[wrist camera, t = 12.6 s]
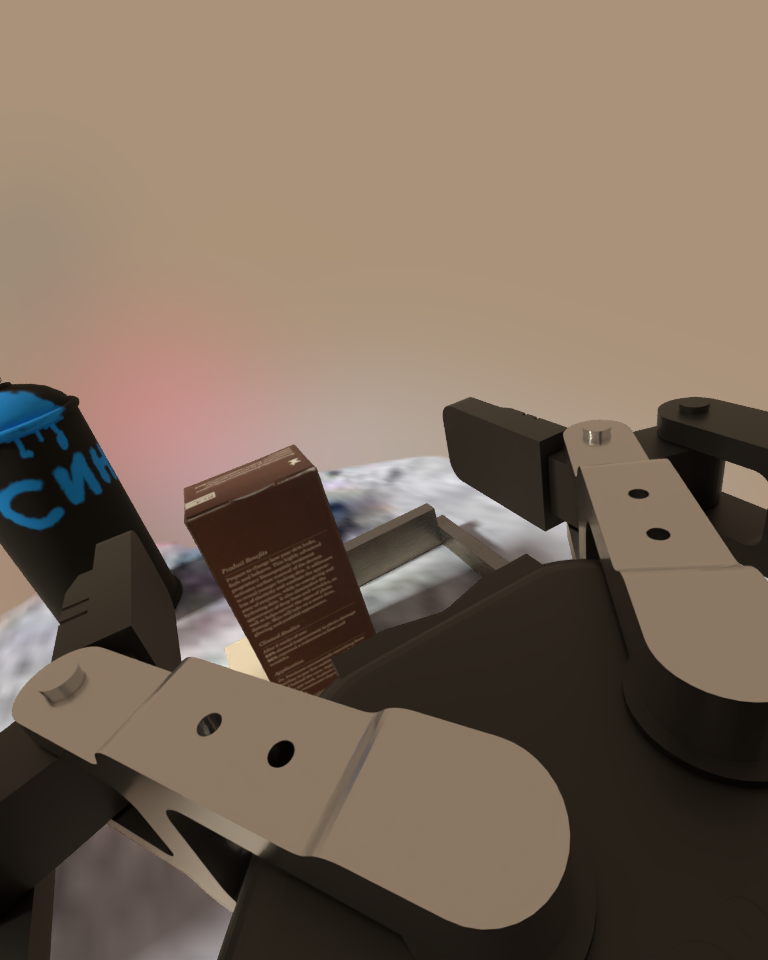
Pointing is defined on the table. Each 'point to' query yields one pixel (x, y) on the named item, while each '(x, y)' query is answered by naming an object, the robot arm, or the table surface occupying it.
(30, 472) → the aerosol can
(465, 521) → the table surface
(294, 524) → the box
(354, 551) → the open rectangular frame
